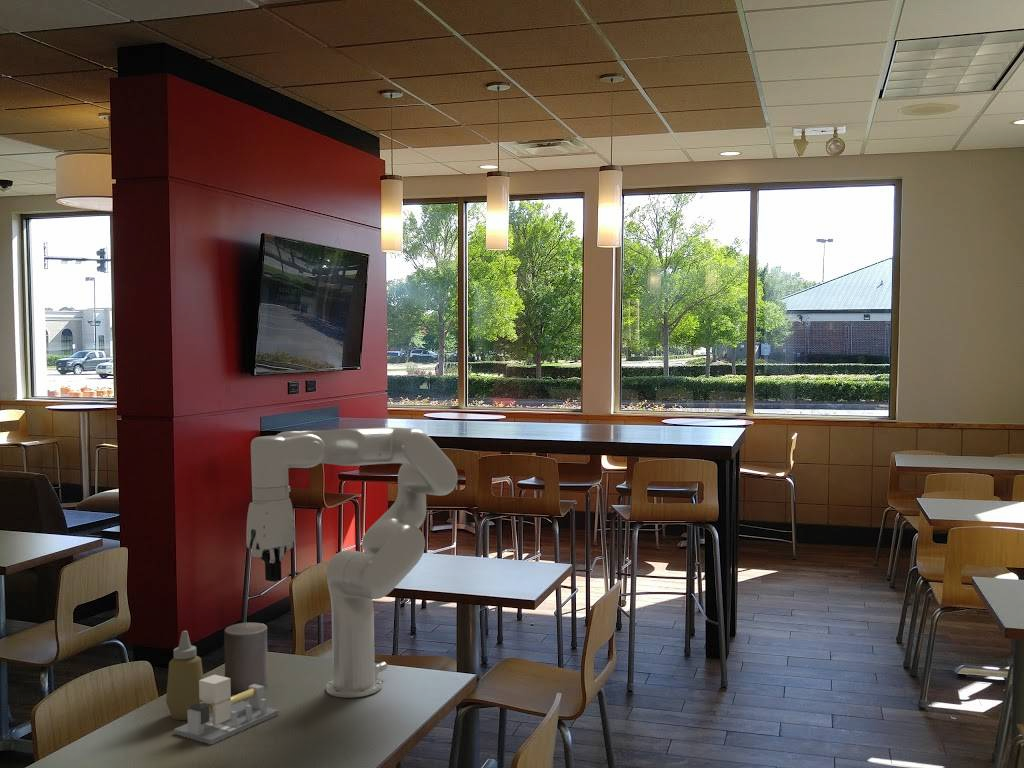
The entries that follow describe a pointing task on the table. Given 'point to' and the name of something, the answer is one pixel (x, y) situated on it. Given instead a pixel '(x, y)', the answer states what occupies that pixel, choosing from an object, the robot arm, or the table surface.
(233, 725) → the gray assembly board
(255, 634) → the pillar candle
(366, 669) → the robot arm
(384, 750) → the table surface
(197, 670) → the squeeze bottle
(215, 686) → the white block
